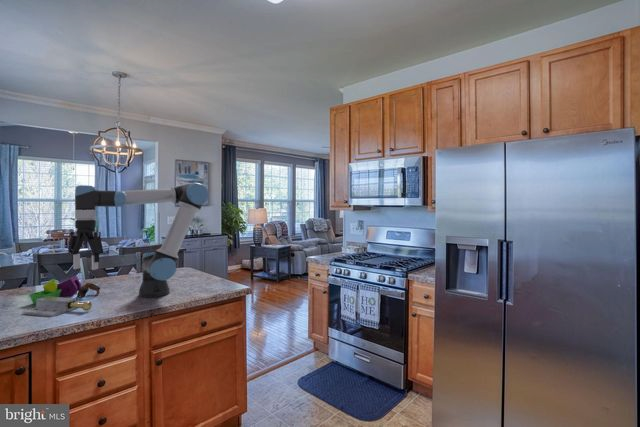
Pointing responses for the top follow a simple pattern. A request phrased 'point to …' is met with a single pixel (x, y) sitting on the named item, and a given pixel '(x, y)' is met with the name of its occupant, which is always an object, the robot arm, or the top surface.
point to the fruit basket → (46, 291)
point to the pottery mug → (85, 288)
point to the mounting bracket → (69, 286)
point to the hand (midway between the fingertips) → (85, 268)
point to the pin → (81, 305)
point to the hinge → (51, 306)
